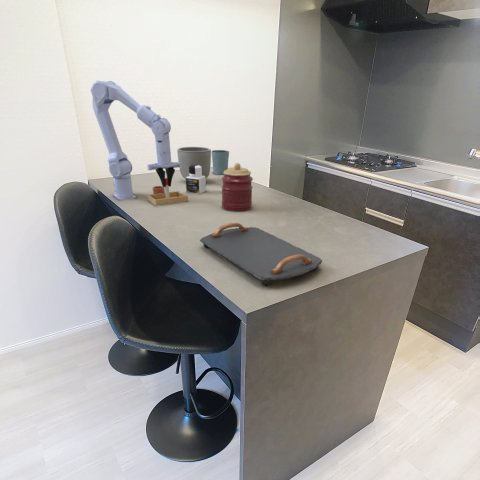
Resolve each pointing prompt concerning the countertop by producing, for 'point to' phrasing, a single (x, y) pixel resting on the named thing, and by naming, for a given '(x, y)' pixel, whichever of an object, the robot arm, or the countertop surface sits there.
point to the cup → (158, 189)
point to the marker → (167, 188)
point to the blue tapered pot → (220, 161)
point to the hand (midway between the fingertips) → (166, 186)
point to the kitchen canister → (237, 189)
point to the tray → (161, 198)
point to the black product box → (195, 180)
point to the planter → (194, 159)
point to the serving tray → (260, 252)
